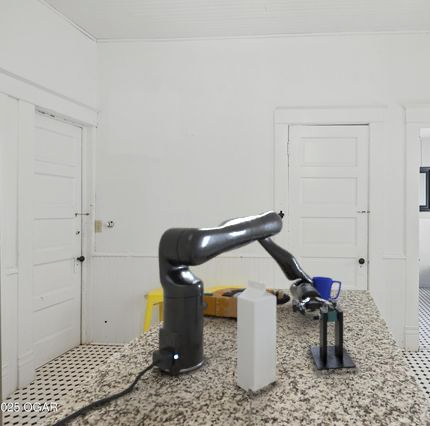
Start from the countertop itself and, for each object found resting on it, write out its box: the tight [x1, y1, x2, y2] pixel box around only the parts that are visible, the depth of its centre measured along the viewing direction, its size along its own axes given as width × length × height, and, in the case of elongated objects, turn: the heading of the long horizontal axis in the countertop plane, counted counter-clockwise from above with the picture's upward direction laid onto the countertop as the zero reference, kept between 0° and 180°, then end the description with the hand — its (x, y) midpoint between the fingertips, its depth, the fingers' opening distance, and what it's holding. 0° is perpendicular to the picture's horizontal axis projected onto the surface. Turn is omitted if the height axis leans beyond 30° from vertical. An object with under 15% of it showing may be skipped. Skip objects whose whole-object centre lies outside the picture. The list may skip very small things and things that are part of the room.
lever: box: [312, 311, 337, 323], centre depth 82 cm, size 13×6×2 cm, turn 9°
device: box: [204, 287, 291, 319], centre depth 117 cm, size 23×8×30 cm
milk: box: [236, 279, 277, 393], centre depth 66 cm, size 6×6×22 cm
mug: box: [312, 276, 342, 301], centre depth 128 cm, size 8×12×10 cm
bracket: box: [309, 306, 357, 371], centre depth 77 cm, size 12×9×13 cm
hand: (318, 312), depth 94 cm, fingers open, 8 cm apart
